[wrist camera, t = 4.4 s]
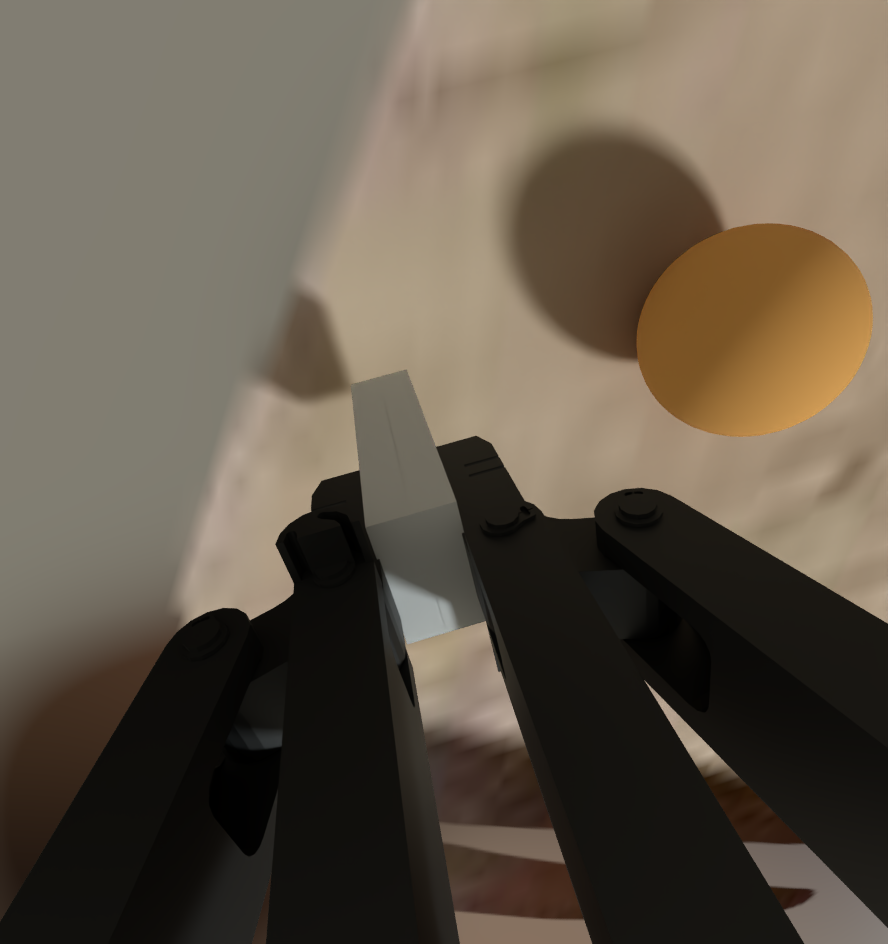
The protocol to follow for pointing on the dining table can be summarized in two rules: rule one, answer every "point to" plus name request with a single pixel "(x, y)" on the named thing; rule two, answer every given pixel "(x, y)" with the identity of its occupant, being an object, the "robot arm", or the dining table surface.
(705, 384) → the ball
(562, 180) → the dining table surface
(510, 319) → the dining table surface
